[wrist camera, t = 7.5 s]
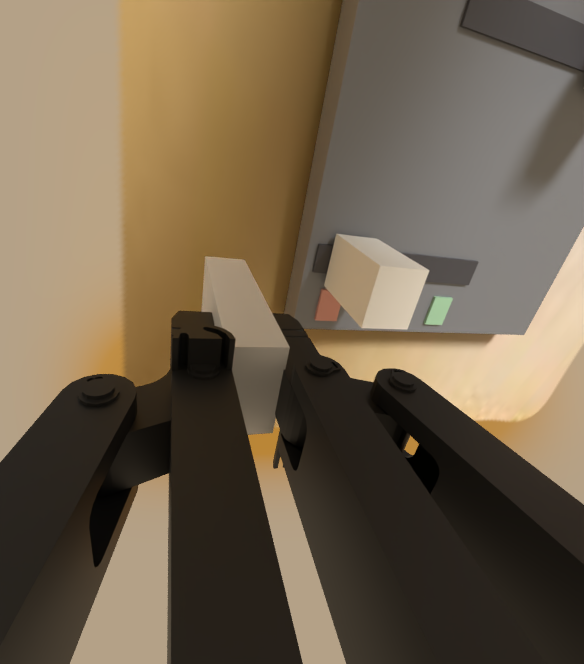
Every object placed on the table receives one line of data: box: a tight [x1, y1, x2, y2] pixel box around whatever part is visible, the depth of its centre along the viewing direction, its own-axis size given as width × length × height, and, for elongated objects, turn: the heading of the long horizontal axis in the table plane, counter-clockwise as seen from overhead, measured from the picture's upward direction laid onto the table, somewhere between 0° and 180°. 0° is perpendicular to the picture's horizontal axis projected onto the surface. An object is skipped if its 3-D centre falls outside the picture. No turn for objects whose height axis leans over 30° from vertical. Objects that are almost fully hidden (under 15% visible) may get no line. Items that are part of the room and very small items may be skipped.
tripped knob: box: [324, 234, 429, 330], centre depth 18 cm, size 3×2×5 cm
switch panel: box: [284, 0, 584, 335], centre depth 21 cm, size 21×19×2 cm
